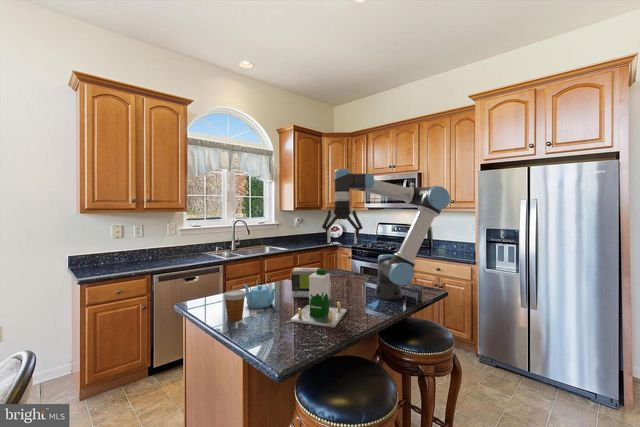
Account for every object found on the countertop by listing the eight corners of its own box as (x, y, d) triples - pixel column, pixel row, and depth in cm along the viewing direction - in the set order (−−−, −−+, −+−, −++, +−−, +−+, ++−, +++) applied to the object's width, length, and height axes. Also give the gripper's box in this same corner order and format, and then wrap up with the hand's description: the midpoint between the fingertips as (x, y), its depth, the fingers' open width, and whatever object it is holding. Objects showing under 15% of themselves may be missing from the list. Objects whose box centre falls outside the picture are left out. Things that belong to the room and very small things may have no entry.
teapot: (271, 299, 170) (270, 280, 169) (277, 308, 156) (277, 287, 155) (243, 303, 164) (243, 283, 164) (247, 312, 150) (247, 290, 150)
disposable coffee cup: (227, 315, 147) (227, 289, 146) (248, 315, 146) (248, 289, 146) (220, 323, 137) (220, 295, 137) (242, 323, 137) (242, 295, 136)
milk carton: (331, 311, 147) (331, 269, 147) (325, 318, 139) (324, 273, 138) (314, 309, 150) (313, 267, 150) (306, 315, 142) (306, 271, 141)
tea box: (320, 292, 182) (320, 267, 182) (318, 298, 172) (318, 271, 172) (294, 292, 184) (294, 266, 183) (291, 297, 174) (291, 270, 173)
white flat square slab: (346, 311, 151) (346, 300, 151) (334, 327, 132) (334, 315, 132) (307, 307, 157) (307, 296, 157) (290, 321, 138) (290, 310, 138)
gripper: (368, 200, 156) (368, 243, 157) (320, 200, 164) (320, 241, 165) (365, 200, 149) (365, 245, 150) (315, 200, 157) (316, 243, 158)
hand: (342, 243), depth 158 cm, fingers open, 13 cm apart
